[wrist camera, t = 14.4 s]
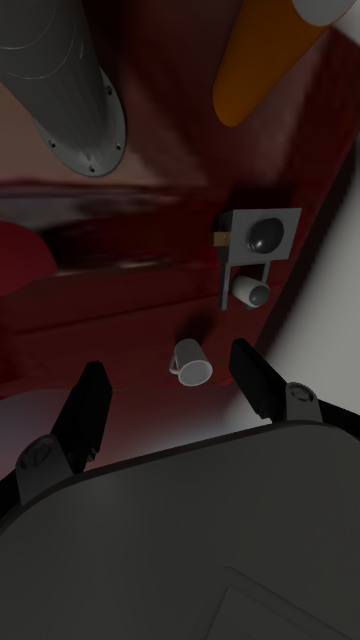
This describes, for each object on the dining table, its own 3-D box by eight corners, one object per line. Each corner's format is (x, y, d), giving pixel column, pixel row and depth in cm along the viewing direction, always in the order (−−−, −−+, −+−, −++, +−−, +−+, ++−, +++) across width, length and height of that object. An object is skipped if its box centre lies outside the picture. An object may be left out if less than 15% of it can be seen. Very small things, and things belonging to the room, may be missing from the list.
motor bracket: (206, 215, 32) (222, 208, 25) (278, 213, 34) (309, 206, 27) (203, 308, 42) (214, 320, 35) (259, 301, 44) (278, 312, 37)
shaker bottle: (217, 146, 27) (342, -23, 10) (198, 67, 23) (366, -504, 5) (262, 118, 26) (482, -113, 9) (252, 32, 22) (639, -731, 5)
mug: (203, 337, 46) (216, 360, 37) (196, 359, 50) (207, 385, 41) (167, 335, 44) (173, 360, 35) (163, 359, 47) (167, 386, 38)
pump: (230, 276, 39) (250, 284, 31) (250, 274, 40) (275, 282, 32) (227, 301, 42) (245, 315, 35) (246, 299, 43) (267, 312, 35)
